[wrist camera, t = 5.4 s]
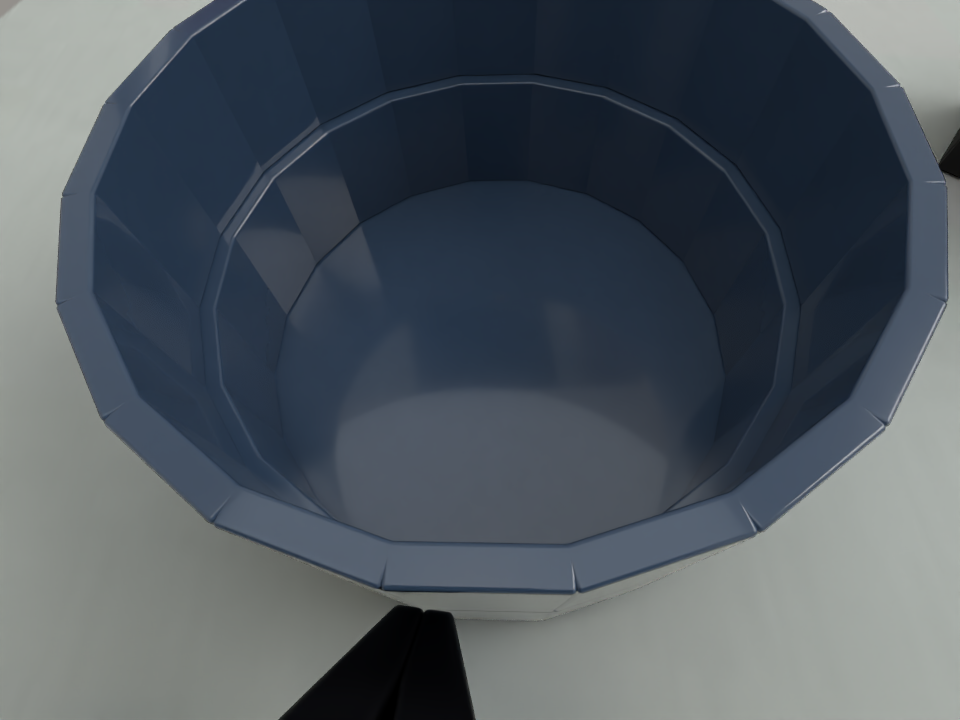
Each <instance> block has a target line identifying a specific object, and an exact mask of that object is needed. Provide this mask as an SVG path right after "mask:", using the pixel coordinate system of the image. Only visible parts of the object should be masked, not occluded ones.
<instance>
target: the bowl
mask: <svg viewBox="0 0 960 720" xmlns="http://www.w3.org/2000/svg"><path fill="white" fill-rule="evenodd" d="M105 103H106V104H104V105H103V106H102V109H101V111H100V113H99V115H98V117H97V119H96V122H95V124H94V126H93V128H92V130H91V132H90V134H89V137H88V139H87V141H86V143H85V145H84V147H83V150H82V152H81V154H80V156H79V158H78V160H77V162H76V165H75V167H74V169H73V171H72V173H71V175H70V178H69V180H68V182H67V184H66V186H65V188H64V190H63V193H62V196H63V197H62V198H61V210H60V228H59V247H58V265H57V283H56V304H57V310H58V313H59V315H60V318H61V320H62V323H63V325H64V328H65V330H66V333H67V335H68V338H69V340H70V343H71V345H72V348H73V350H74V353H75V355H76V358H77V360H78V363H79V365H80V368H81V370H82V373H83V375H84V378H85V380H86V383H87V385H88V388H89V390H90V393H91V395H92V398H93V400H94V403H95V405H96V408H97V410H98V413H99V415H100V418H101V419H102V420H103V421H104V423H105V425H106V427H107V428H109V429H110V430H111V431H112V432H113V433H114V434H115V435H116V436H117V437H118V438H119V439H120V440H121V441H122V442H123V443H124V444H125V445H127V446H128V447H129V448H130V449H131V450H132V451H133V452H134V453H135V454H136V455H137V456H138V457H139V458H140V459H141V460H142V461H143V462H145V463H146V464H147V465H148V466H149V467H150V468H151V469H152V470H153V471H154V472H155V473H156V474H157V475H158V476H159V477H160V478H161V479H163V480H164V481H165V482H166V483H167V484H168V485H169V486H170V487H171V488H172V489H173V490H174V491H175V492H176V493H177V494H178V495H179V496H181V497H182V498H183V499H184V500H185V501H186V502H187V503H188V504H189V505H190V506H191V507H192V508H193V509H194V510H195V511H196V512H197V513H199V514H200V515H201V516H202V517H203V518H204V519H205V520H206V521H207V522H208V523H210V524H213V525H214V526H215V527H216V528H218V529H220V530H223V531H225V532H228V533H230V534H233V535H235V536H238V537H240V538H242V539H245V540H247V541H250V542H252V543H255V544H257V545H260V546H262V547H265V548H267V549H269V550H272V551H274V552H277V553H279V554H282V555H284V556H287V557H289V558H292V559H294V560H296V561H299V562H301V563H304V564H306V565H309V566H311V567H314V568H316V569H319V570H321V571H324V572H326V573H328V574H331V575H333V576H336V577H338V578H341V579H343V580H346V581H348V582H351V583H353V584H356V585H358V586H361V587H363V588H366V589H368V590H371V591H373V592H376V593H379V594H381V595H384V596H386V597H389V598H391V599H394V600H397V601H399V602H402V603H404V604H407V605H409V606H412V607H418V608H421V609H422V610H423V611H426V610H428V609H432V610H439V611H446V612H451V613H452V615H453V616H454V619H475V620H517V621H540V620H547V619H550V618H553V617H556V616H559V615H562V614H565V613H568V612H571V611H574V610H577V609H580V608H583V607H586V606H589V605H592V604H595V603H598V602H601V601H604V600H607V599H610V598H613V597H616V596H619V595H622V594H625V593H628V592H631V591H634V590H636V589H638V588H641V587H643V586H645V585H647V584H650V583H652V582H654V581H656V580H659V579H661V578H663V577H665V576H668V575H670V574H672V573H674V572H677V571H679V570H681V569H683V568H686V567H688V566H690V565H692V564H695V563H697V562H699V561H701V560H704V559H706V558H708V557H710V556H713V555H715V554H717V553H719V552H722V551H724V550H726V549H728V548H731V547H733V546H735V545H737V544H740V543H742V542H744V541H746V540H749V539H751V538H753V537H755V536H756V535H758V534H760V533H762V532H764V531H765V530H767V529H768V528H769V527H770V526H771V525H773V524H774V523H775V522H776V521H777V520H779V519H780V518H781V517H782V516H783V515H785V514H786V513H787V512H788V511H789V510H791V509H792V508H793V507H794V506H795V505H797V504H798V503H799V502H800V501H801V500H803V499H804V498H805V497H806V496H807V495H809V494H810V493H811V492H812V491H813V490H815V489H816V488H817V487H818V486H819V485H821V484H822V483H823V482H824V481H825V480H827V479H828V478H829V477H830V476H831V475H833V474H834V473H835V472H836V471H837V470H839V469H840V468H841V467H842V466H843V465H845V464H846V463H847V462H848V461H849V460H851V459H852V458H853V457H854V456H855V455H857V454H858V453H859V452H860V451H861V450H863V449H864V448H865V447H866V446H867V445H869V444H870V443H871V442H872V441H873V440H875V439H876V438H877V437H878V436H879V435H881V434H882V433H883V432H884V431H885V428H886V427H887V426H888V425H890V423H891V421H892V419H893V417H894V415H895V413H896V410H897V408H898V406H899V404H900V402H901V400H902V398H903V396H904V394H905V392H906V390H907V388H908V386H909V383H910V381H911V379H912V377H913V375H914V373H915V371H916V369H917V367H918V365H919V363H920V361H921V358H922V356H923V354H924V352H925V350H926V348H927V346H928V344H929V342H930V340H931V338H932V336H933V333H934V331H935V329H936V327H937V325H938V323H939V321H940V319H941V317H942V315H943V313H944V311H945V309H946V306H947V304H946V302H947V300H948V222H947V186H945V185H946V180H945V178H944V176H943V174H942V172H941V169H940V167H939V165H938V163H937V161H936V159H935V156H934V154H933V152H932V150H931V148H930V145H929V143H928V141H927V139H926V137H925V135H924V132H923V130H922V128H921V126H920V124H919V121H918V119H917V117H916V115H915V113H914V111H913V108H912V106H911V104H910V102H909V100H908V97H907V95H906V93H905V91H904V89H903V88H902V87H900V83H899V82H898V81H897V80H896V79H895V78H894V77H893V76H892V75H891V74H890V73H889V72H888V71H887V70H886V69H885V68H884V67H883V66H882V65H881V64H880V63H879V62H878V61H877V60H876V58H875V57H874V56H873V55H872V54H871V53H870V52H869V51H868V50H867V49H866V48H865V47H864V46H863V45H862V44H861V43H860V42H859V41H858V40H857V39H856V38H855V37H854V36H853V35H852V34H851V33H850V32H849V31H848V29H847V28H846V27H845V26H844V25H843V24H842V23H841V22H840V21H839V20H838V19H837V18H836V17H835V16H834V15H833V14H832V13H831V12H828V11H827V9H826V8H824V7H823V6H821V5H819V4H818V3H816V2H814V1H813V0H214V1H212V2H211V3H209V4H208V5H206V6H205V7H203V8H202V9H200V10H199V11H197V12H196V13H194V14H193V15H191V16H190V17H188V18H187V19H185V20H184V21H182V22H181V23H179V24H178V25H176V26H175V27H174V28H173V29H171V30H170V31H169V32H168V33H167V34H166V35H165V36H164V37H163V38H162V40H161V41H160V42H159V43H158V44H157V45H156V46H155V47H154V48H153V49H152V51H151V52H150V53H149V54H148V55H147V56H146V57H145V58H144V59H143V60H142V62H141V63H140V64H139V65H138V66H137V67H136V68H135V69H134V70H133V71H132V73H131V74H130V75H129V76H128V77H127V78H126V79H125V80H124V81H123V82H122V84H121V85H120V86H119V87H118V88H117V89H116V90H115V91H114V92H113V93H112V95H111V96H110V97H109V98H108V99H107V100H106V102H105Z"/></svg>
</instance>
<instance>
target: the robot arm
mask: <svg viewBox="0 0 960 720" xmlns="http://www.w3.org/2000/svg"><path fill="white" fill-rule="evenodd" d="M278 720H476V719H475V714H474V710H473V705H472V700H471V696H470V691H469V686H468V682H467V677H466V672H465V667H464V663H463V658H462V653H461V649H460V644H459V639H458V635H457V630H456V625H455V620H454V616H453V615H452V613H451V612H446V611H439V610H432V609H428V610H426V611H425V612H424V611H423V610H422V609H421V608H418V607H411V606H403V605H397V606H395V607H394V608H393V609H392V610H391V611H389V612H388V613H387V614H386V615H385V616H384V617H383V618H382V619H381V620H380V621H379V622H378V623H377V624H376V625H375V626H374V627H373V628H372V629H371V630H370V631H369V632H368V633H367V634H366V635H365V636H364V637H363V638H362V639H361V640H360V641H359V642H358V643H357V644H356V645H355V646H353V647H352V648H351V649H350V650H349V651H348V652H347V653H346V654H345V655H344V656H343V657H342V658H341V659H340V660H339V661H338V662H337V663H336V664H335V665H334V666H333V667H332V668H331V669H330V670H329V671H328V672H327V673H326V674H325V675H324V676H323V677H322V678H321V679H320V680H319V681H317V682H316V683H315V684H314V685H313V686H312V687H311V688H310V689H309V690H308V691H307V692H306V693H305V694H304V695H303V696H302V697H301V698H300V699H299V700H298V701H297V702H296V703H295V704H294V705H293V706H292V707H291V708H290V709H289V710H288V711H287V712H286V713H285V714H284V715H282V716H281V717H280V718H279V719H278Z"/></svg>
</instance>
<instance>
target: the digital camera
mask: <svg viewBox="0 0 960 720" xmlns="http://www.w3.org/2000/svg"><path fill="white" fill-rule="evenodd" d="M938 165H939V167H940V169H942V170H944V171H946V172H949V173H951V174H954V175H956V176H958V177H960V129H959V130H958V132H957V134H956V136H955V137H954V139H953V141H952V142H951V144H950V146H949V147H948V149H947V151H946V152H945V154H944V156H943V158H942V159H941V161H940V163H939V164H938Z"/></svg>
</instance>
